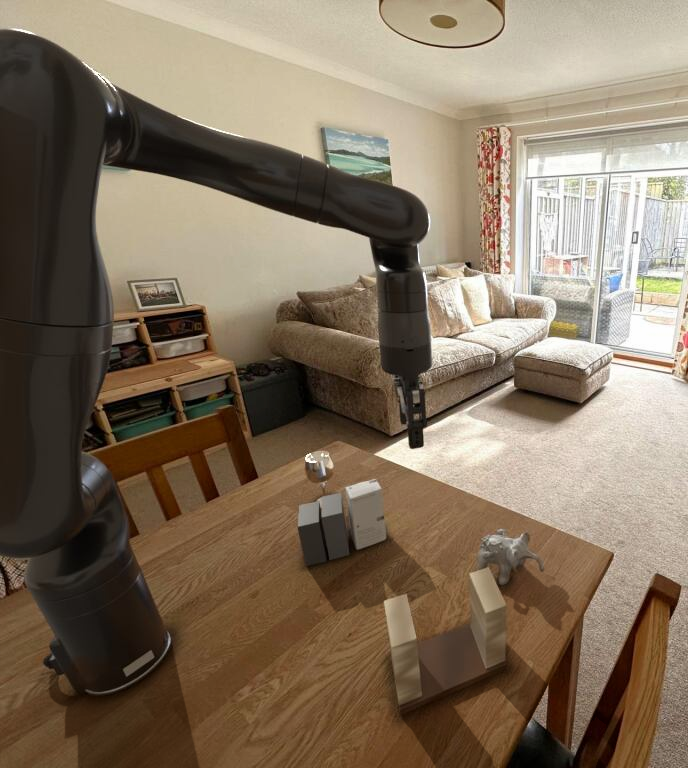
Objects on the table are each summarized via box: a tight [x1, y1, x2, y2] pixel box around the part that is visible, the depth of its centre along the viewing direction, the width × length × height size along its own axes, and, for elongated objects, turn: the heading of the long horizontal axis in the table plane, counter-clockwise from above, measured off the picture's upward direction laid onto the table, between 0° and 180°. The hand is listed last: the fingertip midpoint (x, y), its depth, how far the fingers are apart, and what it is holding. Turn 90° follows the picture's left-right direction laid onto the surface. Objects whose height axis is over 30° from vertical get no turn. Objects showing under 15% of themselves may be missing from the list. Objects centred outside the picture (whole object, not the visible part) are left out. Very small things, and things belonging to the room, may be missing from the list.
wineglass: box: [304, 450, 336, 509], centre depth 89 cm, size 6×6×12 cm
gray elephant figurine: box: [476, 528, 545, 586], centre depth 73 cm, size 9×12×8 cm
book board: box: [383, 567, 508, 716], centre depth 56 cm, size 15×8×12 cm, turn 114°
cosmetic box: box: [344, 478, 387, 551], centre depth 79 cm, size 6×4×12 cm
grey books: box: [296, 492, 350, 567], centre depth 76 cm, size 8×6×10 cm
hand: (411, 434), depth 66 cm, fingers open, 8 cm apart
